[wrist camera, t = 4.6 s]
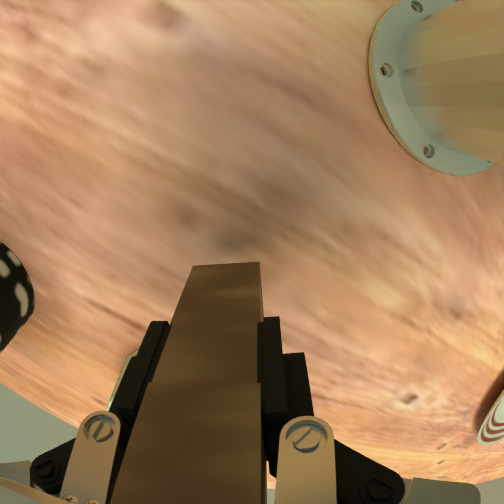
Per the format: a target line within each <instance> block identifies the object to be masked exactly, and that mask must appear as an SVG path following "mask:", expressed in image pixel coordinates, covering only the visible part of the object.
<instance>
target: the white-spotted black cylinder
mask: <svg viewBox="0 0 504 504" xmlns="http://www.w3.org/2000/svg"><path fill="white" fill-rule="evenodd" d="M33 309H34V294H33V289H32V286H31V282H30V280H29V277H28V275H27V273H26V271H25V269H24V267H23V266H22V264H21V263H20V261H19V260H18V258H17V257H16V256H15V255H14V254H13V253H12V251H11V250H10V249H8V248H7V247H6V246H5V245H4V244H2V243H0V354H1V352H2V351H3V350H4V348H5V347H6V346H7V345H8V343H9V342H10V341H11V340H12V338H13V337H14V336H15V335H16V334H17V332H18V331H19V330H20V329H21V328H22V326H23V325H24V324H25V323H26V322H27V320H28V319H29V318H30V317H31V315H32V313H33Z"/></svg>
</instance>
